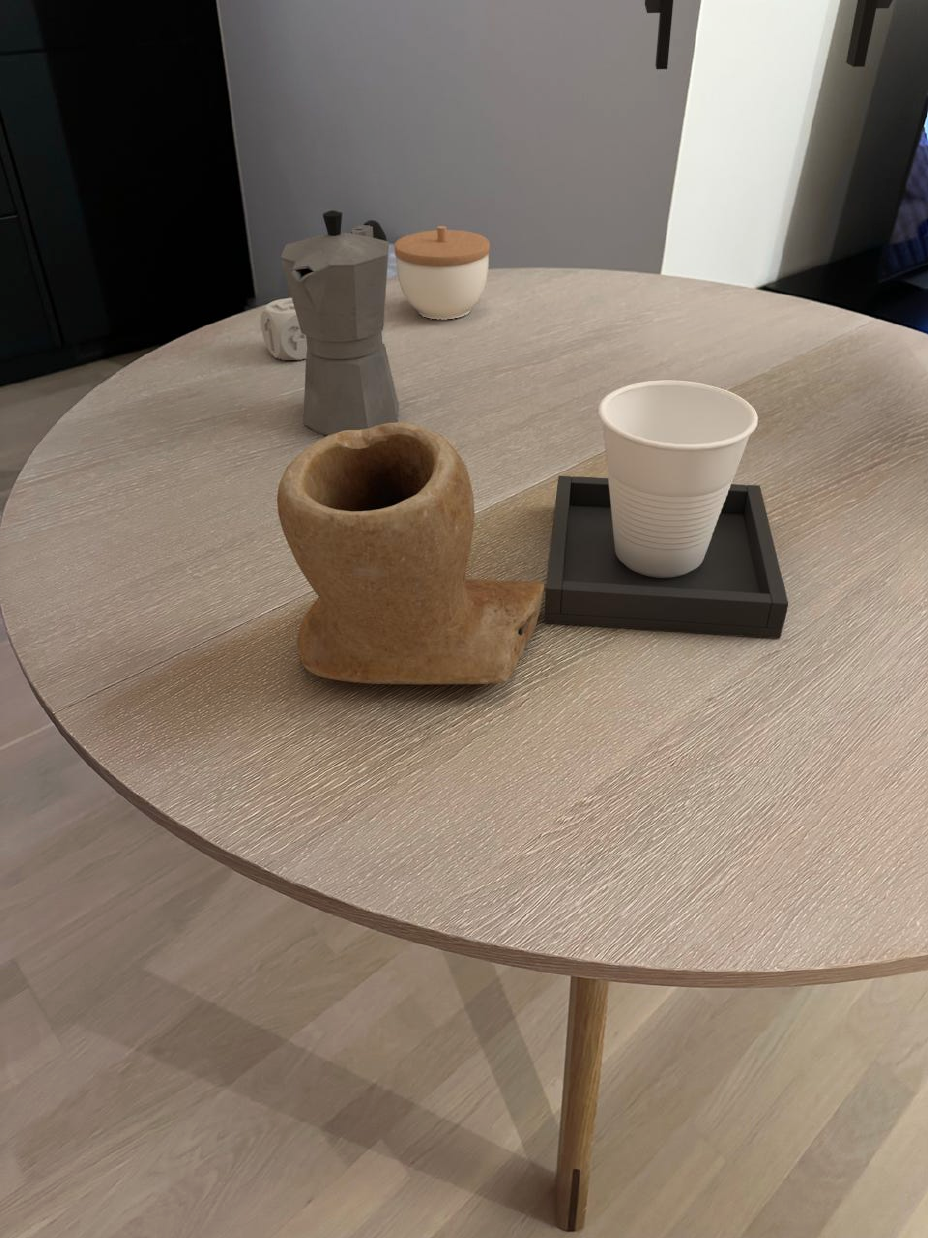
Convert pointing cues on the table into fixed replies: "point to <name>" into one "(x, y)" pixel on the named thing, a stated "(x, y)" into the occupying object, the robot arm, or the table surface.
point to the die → (283, 331)
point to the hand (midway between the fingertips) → (756, 66)
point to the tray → (694, 602)
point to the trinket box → (442, 271)
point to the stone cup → (397, 564)
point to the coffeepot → (343, 325)
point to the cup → (670, 469)
